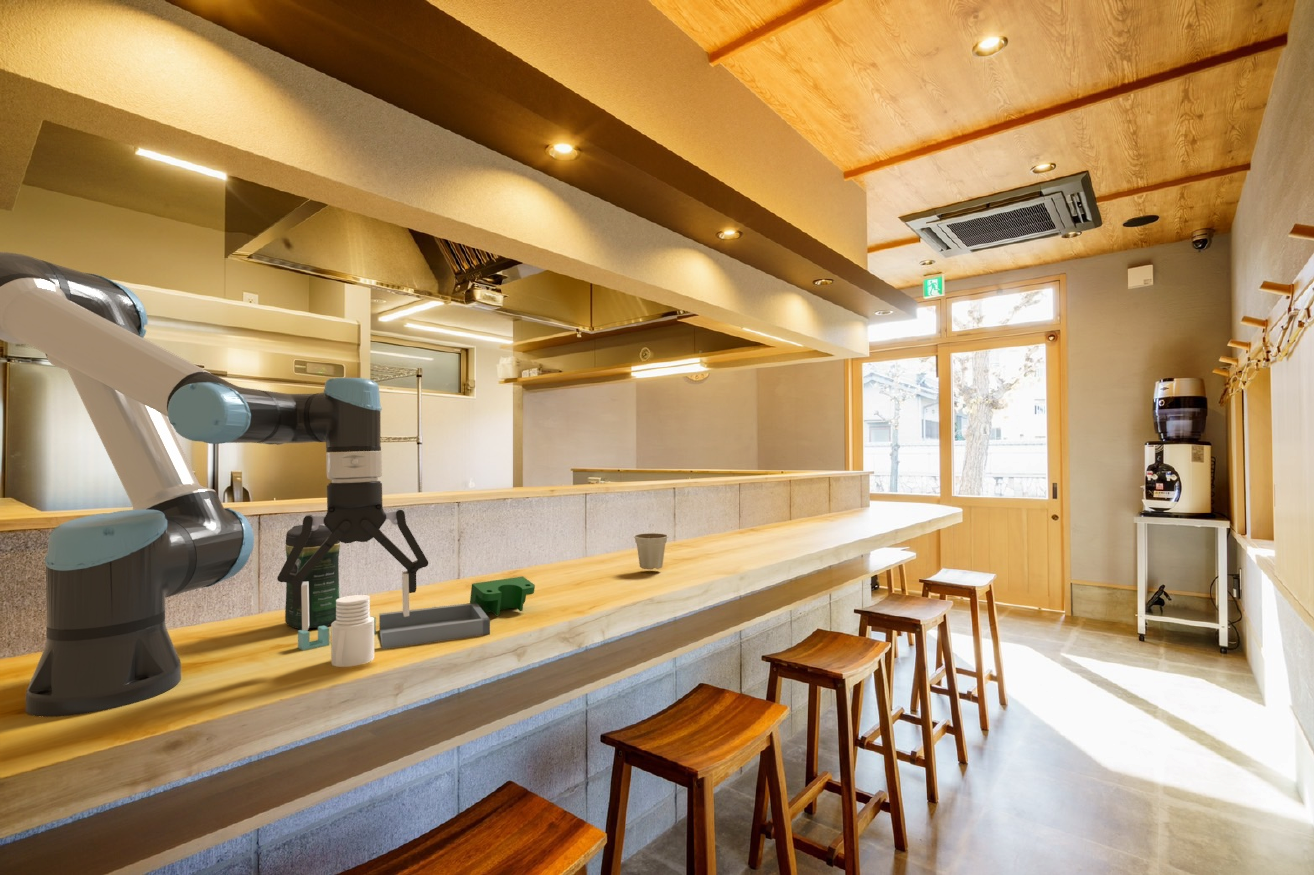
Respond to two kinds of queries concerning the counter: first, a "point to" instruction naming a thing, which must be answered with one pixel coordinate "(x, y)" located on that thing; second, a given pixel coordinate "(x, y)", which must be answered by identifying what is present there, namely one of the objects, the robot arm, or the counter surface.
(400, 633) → the end holder
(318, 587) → the coffee jar
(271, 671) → the counter surface
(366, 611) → the white stepped cylinder
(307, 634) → the clips
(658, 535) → the flower pot
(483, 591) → the clamp
